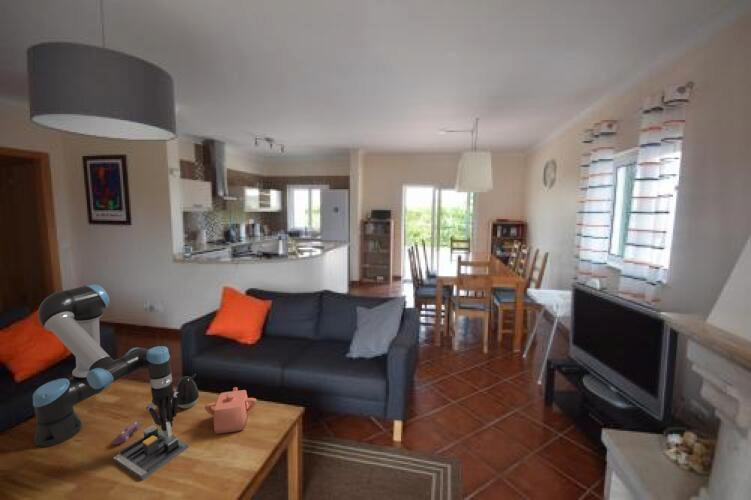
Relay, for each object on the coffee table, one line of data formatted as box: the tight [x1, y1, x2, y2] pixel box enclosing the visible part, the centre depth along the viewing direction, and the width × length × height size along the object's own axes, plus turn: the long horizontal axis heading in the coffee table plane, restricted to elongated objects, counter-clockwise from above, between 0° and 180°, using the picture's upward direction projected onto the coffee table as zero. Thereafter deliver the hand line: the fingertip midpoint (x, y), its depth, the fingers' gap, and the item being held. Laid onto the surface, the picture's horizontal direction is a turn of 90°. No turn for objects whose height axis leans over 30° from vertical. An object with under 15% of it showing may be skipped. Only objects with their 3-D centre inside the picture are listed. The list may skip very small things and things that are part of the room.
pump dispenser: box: [175, 373, 200, 409], centre depth 166 cm, size 10×10×15 cm
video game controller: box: [112, 421, 143, 445], centre depth 145 cm, size 10×5×7 cm, turn 169°
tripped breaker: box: [143, 435, 159, 454], centre depth 135 cm, size 3×4×5 cm
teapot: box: [204, 386, 257, 435], centre depth 156 cm, size 20×22×14 cm
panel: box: [112, 424, 189, 481], centre depth 135 cm, size 20×18×6 cm
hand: (168, 435), depth 142 cm, fingers closed
